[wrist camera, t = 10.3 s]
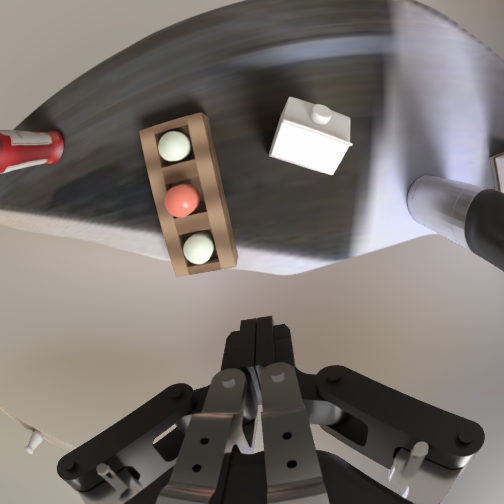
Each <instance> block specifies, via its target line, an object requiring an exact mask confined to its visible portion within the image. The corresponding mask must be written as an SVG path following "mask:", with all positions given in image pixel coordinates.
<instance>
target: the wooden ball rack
mask: <svg viewBox="0 0 504 504" xmlns="http://www.w3.org/2000/svg"><path fill="white" fill-rule="evenodd" d="M171 131H176V132H180V133H184V134H186V135H188V136H189V137H190V139H191V141H192V146H193V149H192V152H191V154H190V155H189V156H188V157H187V158H186V159H184V160H180V161H168V160H165V159H164V158H163V157H162V156H161V155H160V153H159V150H158V144H159V141H160V139H161V137H162V136H163V135H164V134H166V133H168V132H171ZM139 132H140V138H141V143H142V147H143V152H144V157H145V162H146V166H147V171H148V175H149V179H150V184H151V188H152V192H153V196H154V200H155V204H156V208H157V212H158V216H159V220H160V223H161V227H162V231H163V234H164V238H165V242H166V245H167V249H168V252H169V256H170V259H171V262H172V266H173V269H174V272H175V276H176V277H180V276H186V275H192V274H197V273H203V272H209V271H215V270H221V269H227V268H233V267H236V264H237V259H238V253H237V248H236V244H235V240H234V235H233V231H232V226H231V222H230V217H229V213H228V208H227V204H226V199H225V195H224V190H223V185H222V181H221V176H220V172H219V167H218V162H217V158H216V153H215V148H214V143H213V139H212V134H211V129H210V124H209V120H208V116H206V115H205V114H204V113H202V112H200V113H196V114H192V115H189V116H185V117H182V118H178V119H175V120H171V121H168V122H165V123H162V124H158V125H155V126H152V127H149V128H146V129H143V130H140V131H139ZM184 183H188V184H191V185H193V186H195V187H196V188H197V189H198V191H199V193H200V203H199V205H198V207H197V208H196V209H195V210H194V211H193V212H191V213H190V214H189V215H187V216H185V217H175V216H173V215H171V214H170V213H169V212H168V211H167V209H166V207H165V196H166V194H167V192H168V191H169V190H170V189H171V188H173V187H175V186H178V185H180V184H184ZM196 231H206V232H208V233H210V234H211V235H212V236H213V238H214V242H215V248H214V251H213V253H212V255H211V257H210V258H209V260H208V261H207V262H205V263H203V264H194V263H192V262H190V261H189V260H188V259H187V258H186V257H185V255H184V251H183V247H184V244H185V242H186V241H187V240H188V238H189V237H190V236H191V235H192V234H193V233H194V232H196Z"/></svg>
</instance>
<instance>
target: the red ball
mask: <svg viewBox="0 0 504 504" xmlns="http://www.w3.org/2000/svg"><path fill="white" fill-rule="evenodd" d="M199 203H200V193H199V191H198V189H197V188H196V187H195V186H193V185H191V184H188V183H184V184H180V185H178V186H175V187H173V188H171V189H170V190H169V191H168V192H167V194H166V196H165V207H166V209H167V211H168V212H169V213H170V214H171V215H173V216H175V217H185V216H187V215H189V214H190V213H191V212H193V211H194V210H195V209H196V208H197V207H198V205H199Z"/></svg>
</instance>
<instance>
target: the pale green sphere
mask: <svg viewBox="0 0 504 504" xmlns="http://www.w3.org/2000/svg"><path fill="white" fill-rule="evenodd" d="M192 149H193V146H192V141H191V139H190V137H189V136H188V135H186V134H184V133H180V132H176V131H171V132H168V133H166V134H164V135H163V136H162V137H161V139H160V141H159V144H158V150H159V153H160V155H161V156H162V157H163V158H164V159H165V160H168V161H180V160H184V159H186V158H187V157H188V156H189V155H190V154H191V152H192Z"/></svg>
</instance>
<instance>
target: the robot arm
mask: <svg viewBox="0 0 504 504" xmlns="http://www.w3.org/2000/svg"><path fill="white" fill-rule="evenodd" d="M407 203H408V209H409V212H410V214H411V216H412V218H413V219H414V220H415V221H417V222H418V223H420V224H422V225H424V226H426V227H428V228H429V229H431V230H433V231H435V232H437V233H439V234H441V235H443V236H444V237H446V238H448V239H450V240H452V241H454V242H455V243H457V244H459V245H461V246H462V247H465V248H466V249H468V250H470V251H471V252H473V253H475V254H476V255H478V256H480V257H482V258H483V259H485V260H486V261H488V262H490V263H491V264H493V265H495V266H496V267H498V268H499V269H501V270H502V271H504V193H502V192H499V191H496V190H492V189H488V188H485V187H481V186H476V185H472V184H468V183H463V182H459V181H454V180H449V179H445V178H440V177H435V176H429V175H427V176H422V177H420V178H418V179H417V180H416V181H415V182H414V183H413V184H412V186H411V187H410V190H409V193H408V199H407ZM258 405H262V408H263V412H261V421H262V432H263V443H264V451H261V452H258V453H254V450H255V442H256V434H257V427H258V415H257V412H258ZM174 424H176V426H177V427H176V428H175V429H174V430H172V431H171V432H170V433H168V434H167V435H166V436H164V437H163V438H162V439H160V440H159V441H158V442H156V443H155V444H153V441H154V439H155V438H156V437H158V436H159V435H160V434H162V433H163V432H164V431H166V430H167V429H168V428H169V427H171V426H172V425H174ZM310 424H319V425H320V427H321V428H322V429H323V430H324V431H326V432H327V433H329V434H331V435H332V436H333V437H335V438H337V439H338V440H340V441H341V442H343V443H345V444H346V445H348V446H350V447H351V448H353V449H355V450H356V451H358V452H360V453H361V454H363V455H365V456H367V457H368V458H370V459H372V460H373V461H375V462H377V463H379V464H381V465H382V466H384V467H386V468H388V469H390V472H389V481H390V483H391V485H392V486H393V487H395V488H396V489H397V490H398V491H399V492H400V494H401V496H400V495H399V494H397V493H395V492H393V491H392V490H390V489H388V488H387V487H385V486H383V485H381V484H380V483H378V482H377V481H375V480H374V479H372V478H370V477H369V476H367V475H366V474H364V473H363V472H361V471H360V470H358V469H357V468H355V467H354V466H352V465H351V464H349V463H348V462H346V461H345V460H343V459H342V458H340V457H338V456H336V455H334V454H332V453H329V452H325V451H321V450H316V448H315V444H314V440H313V436H312V432H311V428H310ZM484 439H485V434H484V431H483V429H482V427H481V426H480V425H479V424H478V423H476V422H474V421H471V420H468V419H466V418H463V417H460V416H458V415H455V414H452V413H449V412H447V411H444V410H442V409H440V408H437V407H435V406H432V405H430V404H427V403H424V402H422V401H420V400H417V399H415V398H413V397H410V396H408V395H406V394H403V393H401V392H399V391H396V390H394V389H392V388H390V387H387V386H385V385H383V384H381V383H378V382H376V381H374V380H372V379H370V378H368V377H365V376H363V375H361V374H359V373H357V372H355V371H353V370H351V369H349V368H346V367H344V366H339V365H333V366H328V367H325V368H323V369H322V370H320V371H319V372H318V374H317V375H313V374H305V373H303V372H301V371H299V370H298V369H297V368H296V367H295V359H294V353H293V346H292V341H291V334H290V329H289V328H288V327H287V326H286V325H285V324H281V325H275V326H274V320H273V317H272V316H267V317H260V318H257V319H256V318H254V319H247V320H241V326H240V331H234V332H231V334H230V335H229V336H228V337H227V339H226V344H225V350H224V355H223V361H222V366H221V371H220V372H218V373H217V374H216V375H215V376H214V377H213V379H212V381H211V384H210V385H208V386H206V387H203V388H200V389H196V390H193V389H192V387H191V386H189V385H187V384H184V383H178V384H174V385H171V386H169V387H168V388H166V389H165V390H163V391H162V392H161V393H159V394H158V395H156V396H155V397H154V398H152V399H151V400H149V401H148V402H146V403H145V404H143V405H142V406H141V407H139V408H138V409H136V410H135V411H133V412H132V413H130V414H129V415H127V416H126V417H124V418H123V419H121V420H120V421H118V422H117V423H115V424H114V425H112V426H111V427H109V428H108V429H106V430H105V431H103V432H102V433H100V434H99V435H97V436H95V437H94V438H92V439H91V440H89V441H87V442H86V443H84V444H83V445H81V446H79V447H78V448H76V449H74V450H73V451H71V452H70V453H68V454H66V455H65V456H63V457H62V458H61V459H60V461H59V462H58V465H57V472H58V474H59V476H60V477H61V478H62V479H63V480H64V481H66V482H67V483H68V484H69V485H70V486H71V487H72V488H73V489H74V490H75V491H77V492H78V493H79V494H80V496H81V497H82V499H83V501H84V502H85V503H86V504H440V502H441V501H442V500H443V498H444V497H445V495H446V494H447V492H448V491H449V489H450V488H451V486H452V485H453V483H454V482H455V480H456V479H457V478H458V477H459V476H460V474H461V473H462V472H463V471H464V469H465V468H466V467H467V466H468V464H469V463H470V462H471V460H472V459H473V458H474V456H475V455H476V453H477V452H478V451H479V450H480V448H481V447H482V445H483V443H484Z"/></svg>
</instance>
